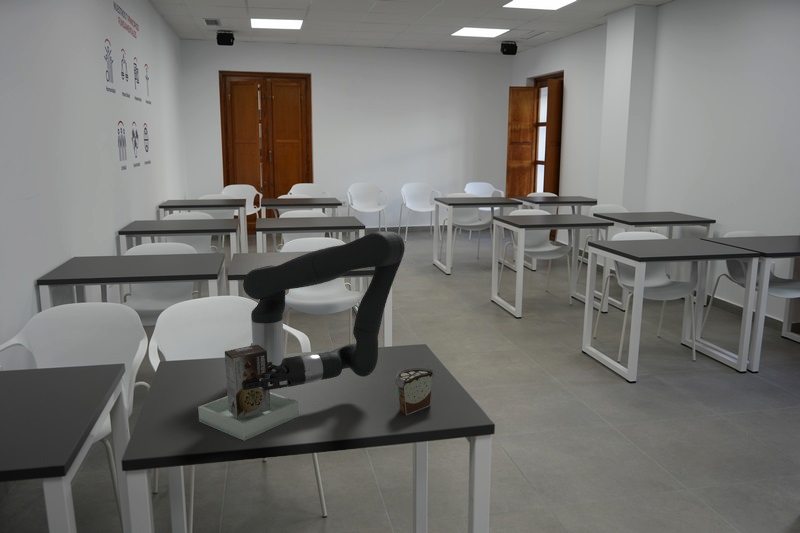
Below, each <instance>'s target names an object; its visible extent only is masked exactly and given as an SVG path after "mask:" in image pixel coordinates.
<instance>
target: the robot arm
mask: <svg viewBox="0 0 800 533" xmlns="http://www.w3.org/2000/svg"><path fill="white" fill-rule="evenodd" d="M404 254H405V241H404V240H403V238H402V236H401V235H400V234H399V233H397V232H395V231H386V230H385V231H380V230H379V231H375V232H374V231H373V232H370V233H368V234H366V235H365V234H364V235H363V236H361V237H359V238H357V239H354V240H353V241H350V242H347V243H345V244H341V245H333V246H328V247H325V248H320V249H317V250H314V251H311V252H307V253H305V254H302V255H299V256H297V257H294V258H292V259H290V260H287V261H286V262H283V263H281V264H278V265H266V266H261V267H259V268H255V269H252V270H250V271H249V272H247V274H246V275H245V276H244V278H243V281H242V282H243V283H242V287H243V292H244V293H245V294H246V295H247V296H248V297H249V298H252V299H253V300H259V301H258V303H257V305H256V306H255V307H254V308H253V309H252V311H251V315H250V317H251V339H252V342H251V343H250V346H253V345H259V346H261V347H262V348H263V349H265V350H266V351H267V361H268V373H265V374H264V376H262V377H260V378H258V379H257V378H256V379H250V380H244V381H243V382H242V387H243V389H244V390H248V389H253V388H258V387H259V388H260V389H262V388H263V390H265V391H266V390H269V391H270V390H277V389H282V388H288V387H289V388H291V387H297V386H301V385H306V384H311V383H315V382H318V381H322V380H328V379H334V378H337V377H339V376H340V375H341V374H342V371H343V370H344V369H350V370H351V371H352V373H354V374H355V375H357V376H359V377H362V378H364V377H368V376H369V375H371V374H372V373H373V372H374V371H375V368H376V366H377V364H378V358H379V332H380V330H381V325H382V320H383V315H384V312H385V311H384V310H385V307H386V305H387V304H386V303H387V300H388V297H389V294H390V291H391V288H392V285H393V283H394V280H395V278H396V275H397V272H398V270H399V267H400V266H401V265H400V264H401V263H402V260H403V256H404ZM367 268H374V270H373V276H372V278H371V280H370V283H369V285H368V287H367V289H366V291H365V293H364V294H363V296H362V298H361V300H360V302H359V305H358V307H357V311H356V315H355V319H354V323H353V328H352V329H353V331H352V333H353V337H354V339H355V343H349V344H346V345H344V346H340V347H337V348H336V349H334V350H330V351H325V352H319V353H307V354H301V355H296V356H295V355H294V356H289V357H285V346H284V345H285V344H284V342H285V340H284V317H283V316H284V313H285V308H286V291H287V290H294V289H301V288H306V287H312V286H318V285H321V284H324V283H325V284H326V283H329V282H331V281H333V280H336V279H338V278H340V277H341V276H344V275H345V274H347V273H349V272H351V271H355V270H360V269H367Z"/></svg>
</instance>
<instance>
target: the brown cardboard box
mask: <svg viewBox="0 0 800 533" xmlns="http://www.w3.org/2000/svg"><path fill="white" fill-rule="evenodd" d="M224 362H225V376H226V377H225V378H226V389H227V390H226V391H227V396H228V406H229V412H230V413H231V414H232V415H233V416H234V417H235V418H236V419H240V418H244V417H247V416H251V415H255V414H258V413H262V412H266V411H270V410H271V406H270V392H271V391H270V390H266V391H265V390H263V388H262V389H260V388H259V387H258V388H253V389H248V390H244V389H243V387H242V382H243V381H244V380H250V379H256V378H257V379H258V378H260V377H262V376H264V374H265V373H268V361H267V351H266V350H265V349H263V348H262V347H261V346H259V345H253V346H251V345H248V346H244V347H239V348H234V349H228V350H225V351H224Z"/></svg>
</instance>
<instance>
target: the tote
mask: <svg viewBox="0 0 800 533" xmlns="http://www.w3.org/2000/svg"><path fill="white" fill-rule="evenodd" d="M299 403H300V402H299V401H298V400H294V399H291V398H289V397H286V396H283V395H280V394H277V393H274V392H271V391H270V406H271V410H270V411H266V412H262V413H258V414H255V415H251V416H247V417H244V418H240V419H236V418H235V417H234V416H233V415H232V414H231V413H230V412H229V406H228V395H226V396H224V397H222V398H219V399H216V400H212V401H210V402H208V403H205V404H202V405H200V406H198V407H197V409H198V422H199V423H202V424H204V425H207V426H208V427H211V428H213V429H216V430H219V431H220V432H222V433H225V434H227V435H230V436H231V437H234V438H237V439H239V440H242V441H243V442H244V441H247V440H249V439H253V438H254V437H256V436H259V435H260V434H263V433H266V432H267V431H269V430H272V429H274V428H276V427H278V426H281V425H283V424H285V423H287V422H290V421H293V420H294V419H296V418H300V408H299V407H300V405H299Z"/></svg>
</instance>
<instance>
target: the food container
mask: <svg viewBox="0 0 800 533" xmlns="http://www.w3.org/2000/svg"><path fill="white" fill-rule="evenodd" d="M434 377H436V375H435V371H434V368H430V367H423V366H422V367H421V366H420V367H418V366H415V367H408V368H404V369H401V370H399V371H398V372H397V374H396V377H395V385H396V386H397V388H398V391H397V392H398V397H399V398H398V399H399V400H398V401H399V411H400V413H401V414H402V415H403V416H409V415H412V414H414V413H416V412H419V411H421V410H424V409H426V408H428V407H431V405H432V394H433V382H434V381H433V380H434Z"/></svg>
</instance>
